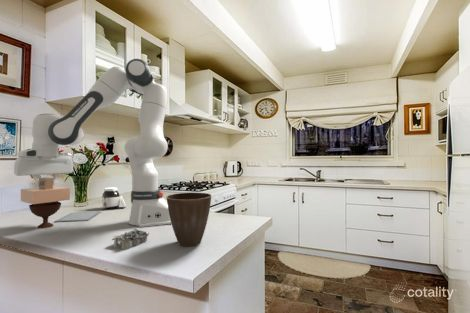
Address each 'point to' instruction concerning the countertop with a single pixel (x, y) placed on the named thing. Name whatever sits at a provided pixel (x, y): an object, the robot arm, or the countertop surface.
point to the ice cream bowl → (45, 212)
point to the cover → (45, 193)
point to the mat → (78, 217)
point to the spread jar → (111, 198)
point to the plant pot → (189, 216)
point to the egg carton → (130, 239)
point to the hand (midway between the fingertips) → (45, 185)
